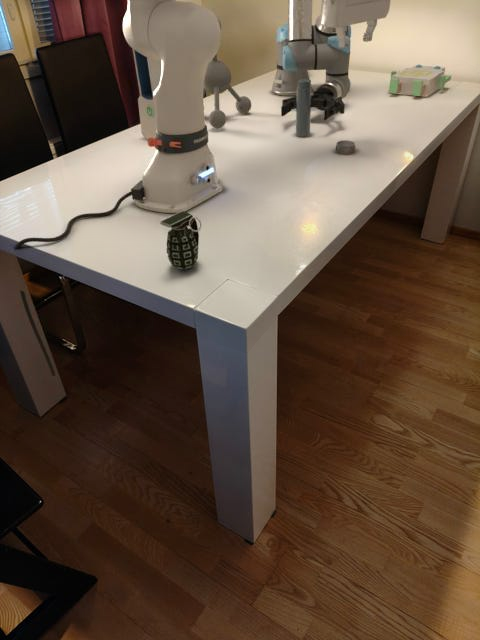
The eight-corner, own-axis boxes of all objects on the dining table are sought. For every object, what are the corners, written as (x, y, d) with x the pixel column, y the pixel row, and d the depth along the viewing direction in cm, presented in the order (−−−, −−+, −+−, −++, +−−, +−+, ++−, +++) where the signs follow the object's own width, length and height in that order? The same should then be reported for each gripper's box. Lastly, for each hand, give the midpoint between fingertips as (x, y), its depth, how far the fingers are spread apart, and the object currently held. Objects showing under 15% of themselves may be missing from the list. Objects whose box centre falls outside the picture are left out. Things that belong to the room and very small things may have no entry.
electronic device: (141, 137, 154) (123, 28, 136) (159, 131, 158) (144, 24, 140) (166, 145, 147) (151, 30, 129) (185, 138, 151) (172, 26, 133)
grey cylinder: (312, 134, 149) (314, 79, 140) (303, 138, 147) (305, 82, 137) (301, 131, 151) (303, 77, 142) (292, 135, 149) (293, 80, 140)
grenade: (182, 278, 88) (175, 228, 82) (162, 268, 91) (153, 219, 85) (208, 263, 92) (203, 214, 85) (187, 253, 95) (181, 205, 89)
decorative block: (405, 62, 193) (457, 66, 183) (403, 80, 197) (453, 84, 187) (379, 75, 177) (434, 80, 167) (377, 94, 181) (431, 100, 171)
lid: (355, 148, 137) (356, 140, 136) (353, 154, 134) (353, 147, 132) (337, 147, 139) (337, 139, 137) (334, 153, 135) (334, 145, 134)
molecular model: (271, 118, 163) (270, 14, 145) (215, 133, 154) (207, 23, 136) (232, 105, 179) (227, 9, 161) (180, 117, 170) (168, 17, 151)
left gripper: (342, -21, 105) (338, 52, 113) (398, -28, 115) (390, 39, 123) (320, -21, 108) (317, 49, 117) (376, -28, 119) (370, 37, 127)
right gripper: (363, 110, 157) (343, 130, 143) (291, 105, 167) (265, 122, 152) (365, 85, 153) (345, 102, 138) (291, 81, 162) (265, 97, 148)
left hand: (355, 44), depth 120 cm, fingers open, 8 cm apart
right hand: (303, 113), depth 145 cm, fingers open, 13 cm apart
